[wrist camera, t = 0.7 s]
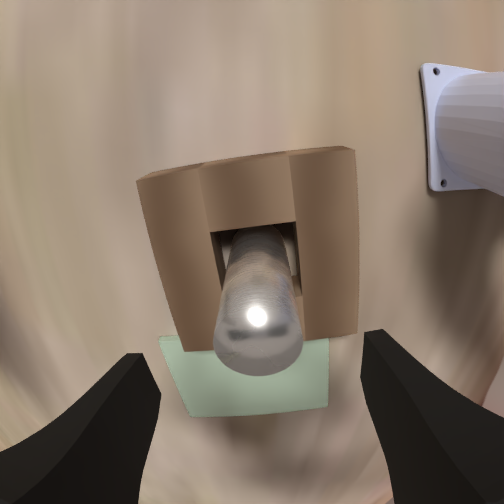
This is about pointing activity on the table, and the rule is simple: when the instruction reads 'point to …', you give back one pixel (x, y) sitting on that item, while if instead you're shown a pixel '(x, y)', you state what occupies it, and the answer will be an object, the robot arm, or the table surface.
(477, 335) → the table surface
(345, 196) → the eye block
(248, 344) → the steel peg
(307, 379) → the sage mat
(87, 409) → the robot arm
